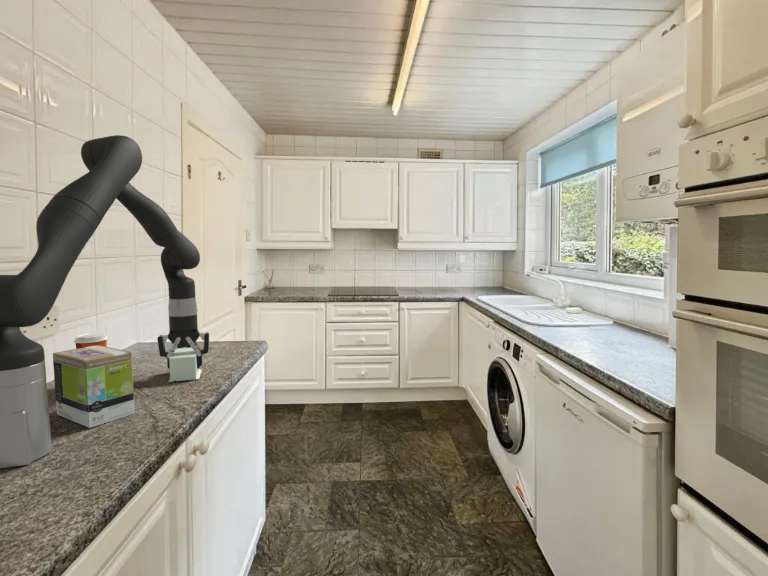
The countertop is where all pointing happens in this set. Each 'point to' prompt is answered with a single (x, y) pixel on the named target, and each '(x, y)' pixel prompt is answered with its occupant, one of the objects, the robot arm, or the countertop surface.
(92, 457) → the countertop surface
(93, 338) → the paper cup
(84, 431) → the countertop surface
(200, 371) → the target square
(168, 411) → the countertop surface
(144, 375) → the countertop surface
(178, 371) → the mint green rectangular block
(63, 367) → the tea box
